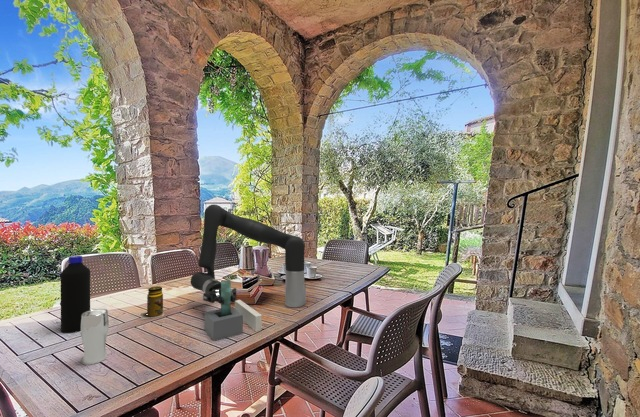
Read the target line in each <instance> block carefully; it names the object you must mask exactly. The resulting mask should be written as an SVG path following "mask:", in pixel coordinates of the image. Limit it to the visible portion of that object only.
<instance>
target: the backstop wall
mask: <svg viewBox="0 0 640 417" xmlns="http://www.w3.org/2000/svg"><path fill="white" fill-rule="evenodd" d="M234 308H235V309H236V310H237V311H239V312H240V313H241V314H242V315H243V323H244V324H246V325H247V326H248V327H250V328H251V329H253V330H254V331H255V332H259V331H262V330H263V329H262V326H263V324H262V321H263V320H262V316H263V315H262V314H261V313H259V312H258V311H257V310H255V309H254V308H253V307H251V306H250V305H248V304H247V303H245V302H244V301H243V300H241V299H237V300H236V301H235V302H234Z"/></svg>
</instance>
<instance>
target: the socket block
mask: <svg viewBox="0 0 640 417" xmlns="http://www.w3.org/2000/svg"><path fill="white" fill-rule="evenodd" d="M243 325H244V321H243V315H242V314H241V313H240V312H239V311H237V310H236V309H235V306H231V315H227V316H223V317H221V308H218V309H213V310H210V311H209V310H208V311H205V312H204V331H205V333H206V334H207V335H208V336H209V338H210V339H211V340H212V341H213V342H214V341H219V340H222V339H223V340H224V339H227V338H231V337H234V336H237V335H240V334H243V333H244V332H243V331H244V329H243V328H244V326H243Z"/></svg>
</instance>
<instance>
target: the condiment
mask: <svg viewBox="0 0 640 417" xmlns="http://www.w3.org/2000/svg"><path fill="white" fill-rule="evenodd" d="M147 293H148V294H147V296H146V298H147V300H146V301H147V304H146V310H147V312H143V313H142V312H141V314H140V315H141V320H142V321H143V320H147V319H155V318H160V317H165V312H164V293H163V287H162V286H160V285H157V286H151V287H148V292H147ZM146 314H148V315H146ZM162 314H163V315H162ZM161 315H162V316H161Z"/></svg>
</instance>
